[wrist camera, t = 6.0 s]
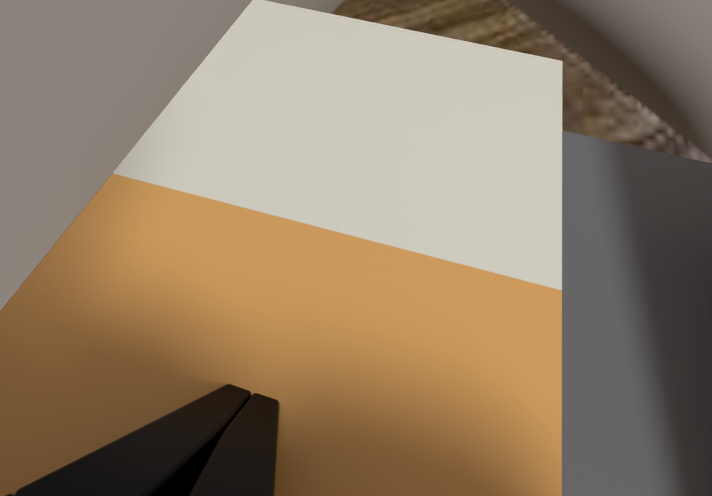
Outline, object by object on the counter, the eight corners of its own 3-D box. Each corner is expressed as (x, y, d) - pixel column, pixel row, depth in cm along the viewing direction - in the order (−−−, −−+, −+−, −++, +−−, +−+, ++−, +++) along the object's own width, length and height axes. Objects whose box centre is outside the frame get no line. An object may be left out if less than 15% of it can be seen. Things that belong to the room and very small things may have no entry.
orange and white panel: (507, 887, 5) (561, 1013, 4) (-152, 614, 6) (-272, 645, 5) (541, 99, 13) (562, 61, 12) (260, 39, 14) (254, -2, 13)
